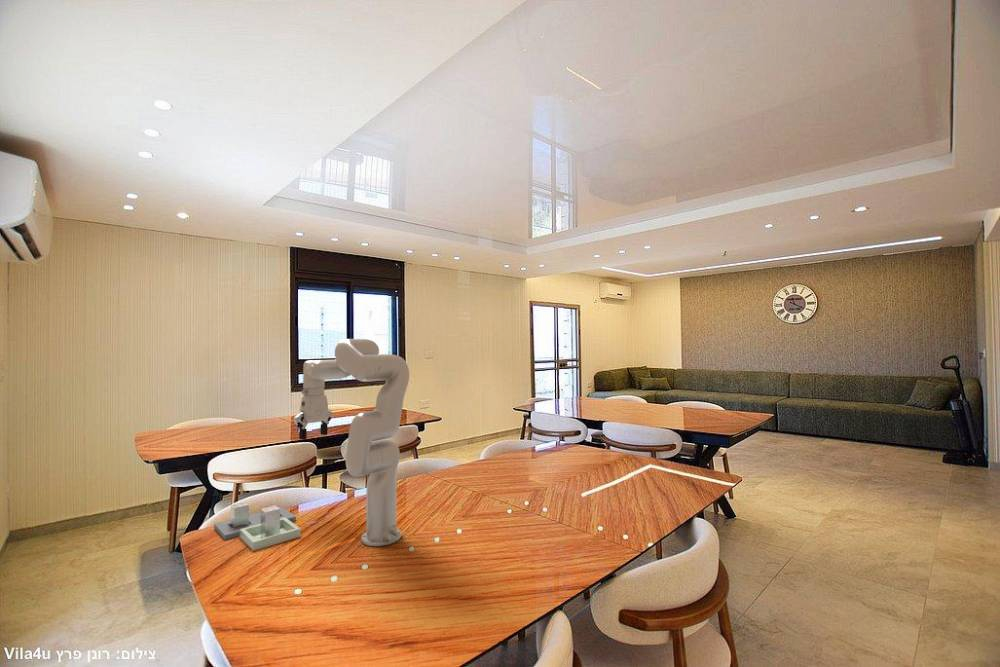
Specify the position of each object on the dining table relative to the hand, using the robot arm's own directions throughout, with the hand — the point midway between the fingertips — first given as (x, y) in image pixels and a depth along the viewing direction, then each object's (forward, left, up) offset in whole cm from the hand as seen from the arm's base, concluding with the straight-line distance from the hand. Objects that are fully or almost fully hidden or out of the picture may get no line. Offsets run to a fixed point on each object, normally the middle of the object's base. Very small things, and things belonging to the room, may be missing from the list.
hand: (313, 436), depth 169 cm
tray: (-16, +20, -28) cm, 38 cm away
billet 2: (-16, +20, -27) cm, 37 cm away
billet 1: (-1, +25, -28) cm, 38 cm away
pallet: (-1, +20, -28) cm, 35 cm away
